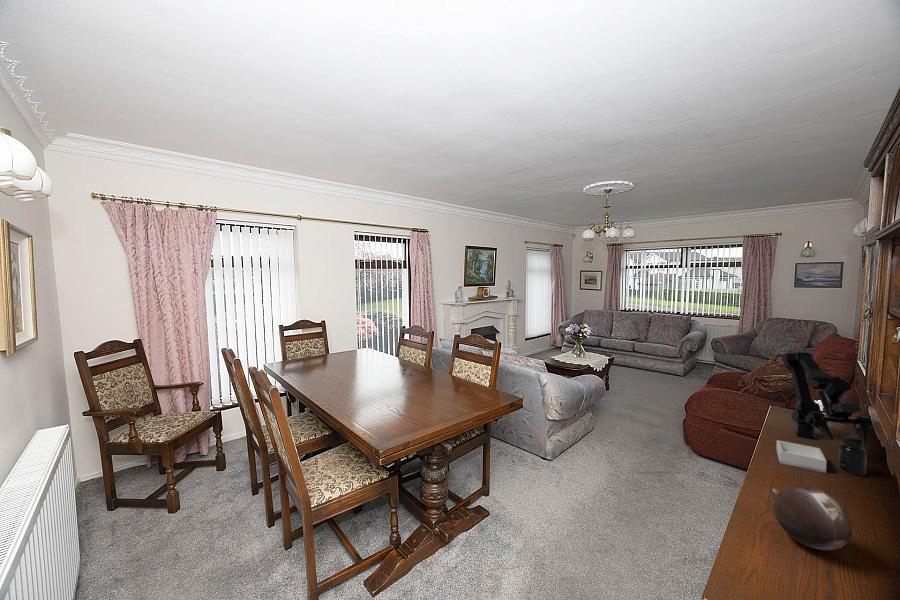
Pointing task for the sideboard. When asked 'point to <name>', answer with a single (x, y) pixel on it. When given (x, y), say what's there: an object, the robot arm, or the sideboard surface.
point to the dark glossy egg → (812, 517)
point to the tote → (801, 456)
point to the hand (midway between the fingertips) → (848, 441)
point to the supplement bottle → (852, 456)
